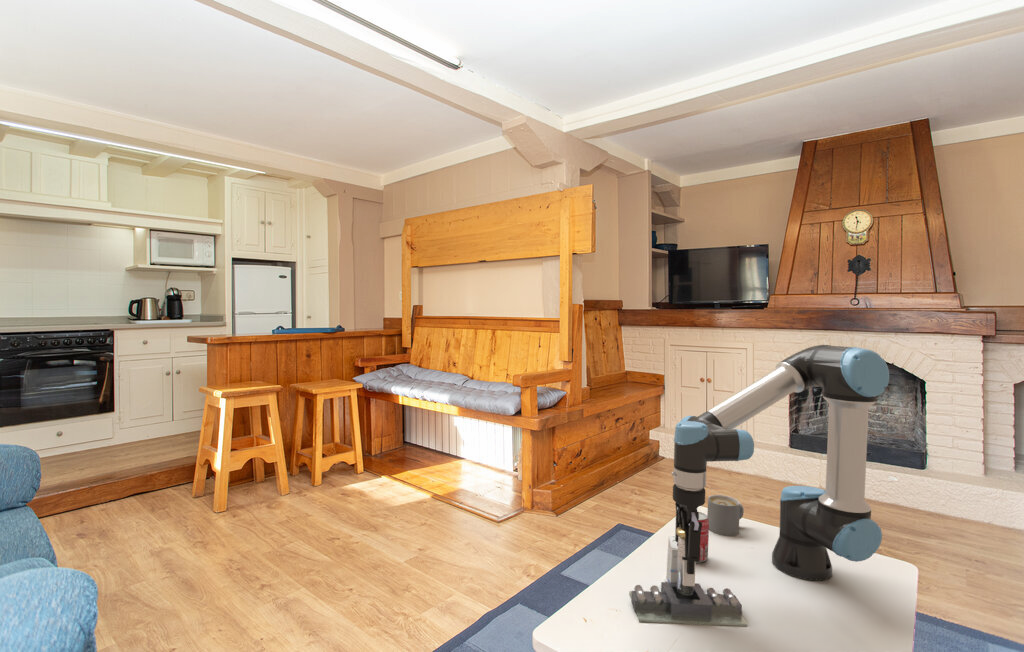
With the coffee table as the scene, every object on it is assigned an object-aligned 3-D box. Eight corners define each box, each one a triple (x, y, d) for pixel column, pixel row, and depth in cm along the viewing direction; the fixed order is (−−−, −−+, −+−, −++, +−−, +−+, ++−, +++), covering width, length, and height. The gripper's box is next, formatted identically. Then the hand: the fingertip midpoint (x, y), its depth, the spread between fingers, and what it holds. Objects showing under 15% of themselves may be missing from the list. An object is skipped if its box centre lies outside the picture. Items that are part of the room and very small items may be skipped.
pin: (692, 585, 129) (694, 526, 128) (698, 596, 124) (700, 535, 123) (671, 584, 129) (674, 525, 128) (677, 596, 124) (679, 534, 123)
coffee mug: (718, 536, 167) (719, 506, 167) (701, 524, 177) (702, 495, 177) (754, 534, 170) (755, 504, 170) (735, 521, 180) (736, 493, 179)
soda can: (710, 556, 154) (711, 513, 153) (704, 566, 148) (706, 522, 147) (685, 550, 158) (687, 508, 157) (679, 559, 152) (681, 516, 151)
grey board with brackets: (728, 597, 132) (729, 581, 132) (748, 626, 120) (748, 608, 120) (628, 593, 133) (628, 577, 133) (637, 621, 121) (638, 604, 121)
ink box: (689, 595, 132) (691, 550, 132) (669, 593, 133) (670, 548, 133) (685, 578, 141) (686, 536, 140) (666, 576, 142) (667, 534, 141)
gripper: (664, 474, 134) (661, 562, 135) (683, 498, 117) (680, 598, 118) (693, 475, 134) (690, 563, 134) (717, 499, 117) (713, 600, 117)
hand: (685, 579), depth 126 cm, fingers closed on pin, 4 cm apart
